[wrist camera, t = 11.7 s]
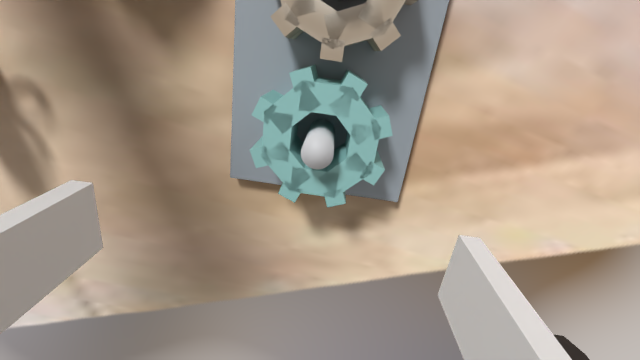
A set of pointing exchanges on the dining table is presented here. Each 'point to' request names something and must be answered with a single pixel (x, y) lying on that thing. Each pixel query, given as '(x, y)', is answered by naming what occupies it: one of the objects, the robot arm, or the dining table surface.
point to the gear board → (372, 66)
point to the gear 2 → (285, 146)
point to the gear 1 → (340, 24)
